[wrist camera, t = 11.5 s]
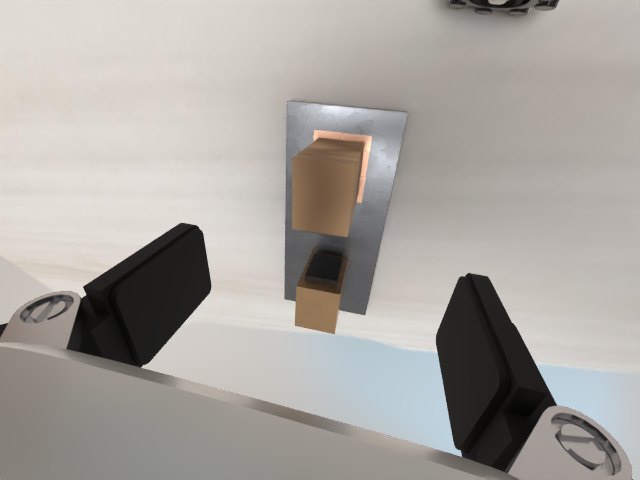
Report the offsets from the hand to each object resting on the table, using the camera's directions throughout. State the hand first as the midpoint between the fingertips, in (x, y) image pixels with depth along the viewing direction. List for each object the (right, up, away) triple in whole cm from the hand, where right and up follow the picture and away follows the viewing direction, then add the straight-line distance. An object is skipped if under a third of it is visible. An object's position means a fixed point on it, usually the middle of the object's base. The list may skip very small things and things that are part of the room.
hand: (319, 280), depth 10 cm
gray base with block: (+2, +4, +19) cm, 20 cm away
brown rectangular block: (+2, +8, +15) cm, 17 cm away
